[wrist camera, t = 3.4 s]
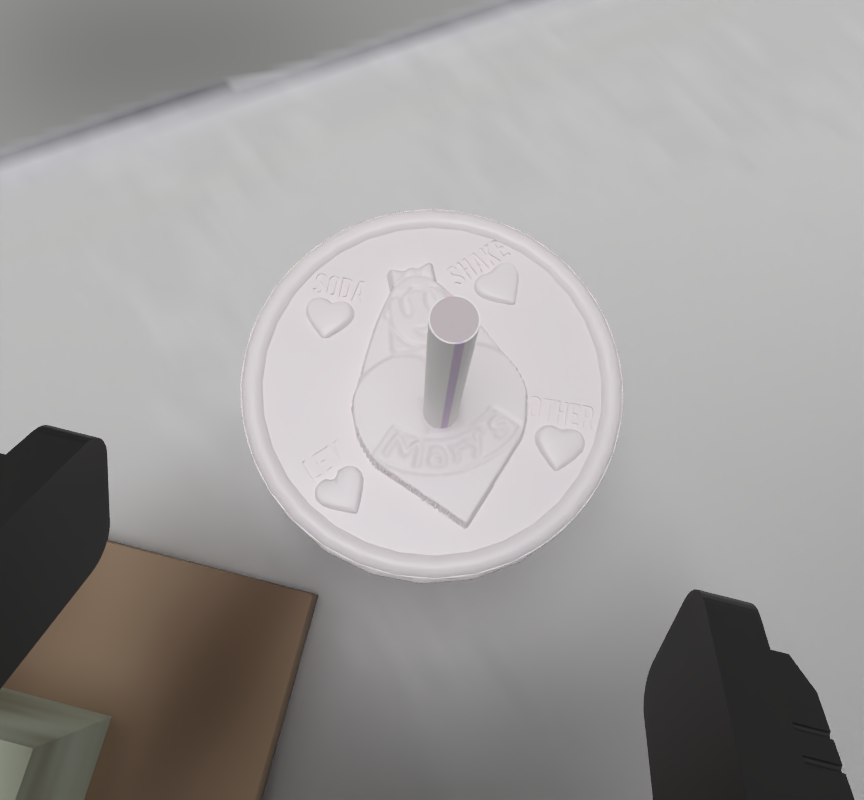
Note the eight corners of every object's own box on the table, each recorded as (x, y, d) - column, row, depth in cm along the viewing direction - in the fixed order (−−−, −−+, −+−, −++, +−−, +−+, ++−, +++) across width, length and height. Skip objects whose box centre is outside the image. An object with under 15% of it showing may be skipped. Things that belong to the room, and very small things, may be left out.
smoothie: (333, 610, 21) (181, 642, 7) (294, 388, 22) (109, 66, 9) (559, 560, 21) (820, 502, 8) (507, 346, 23) (646, -20, 9)
